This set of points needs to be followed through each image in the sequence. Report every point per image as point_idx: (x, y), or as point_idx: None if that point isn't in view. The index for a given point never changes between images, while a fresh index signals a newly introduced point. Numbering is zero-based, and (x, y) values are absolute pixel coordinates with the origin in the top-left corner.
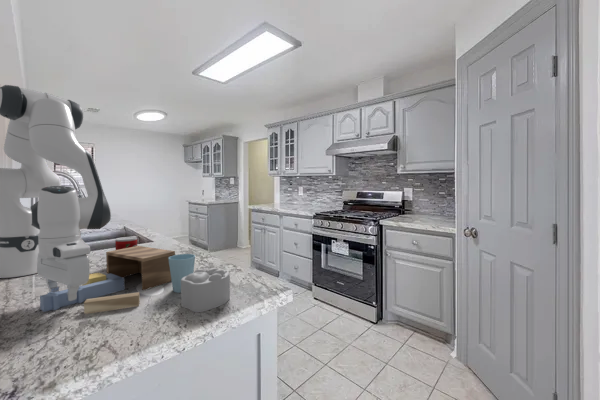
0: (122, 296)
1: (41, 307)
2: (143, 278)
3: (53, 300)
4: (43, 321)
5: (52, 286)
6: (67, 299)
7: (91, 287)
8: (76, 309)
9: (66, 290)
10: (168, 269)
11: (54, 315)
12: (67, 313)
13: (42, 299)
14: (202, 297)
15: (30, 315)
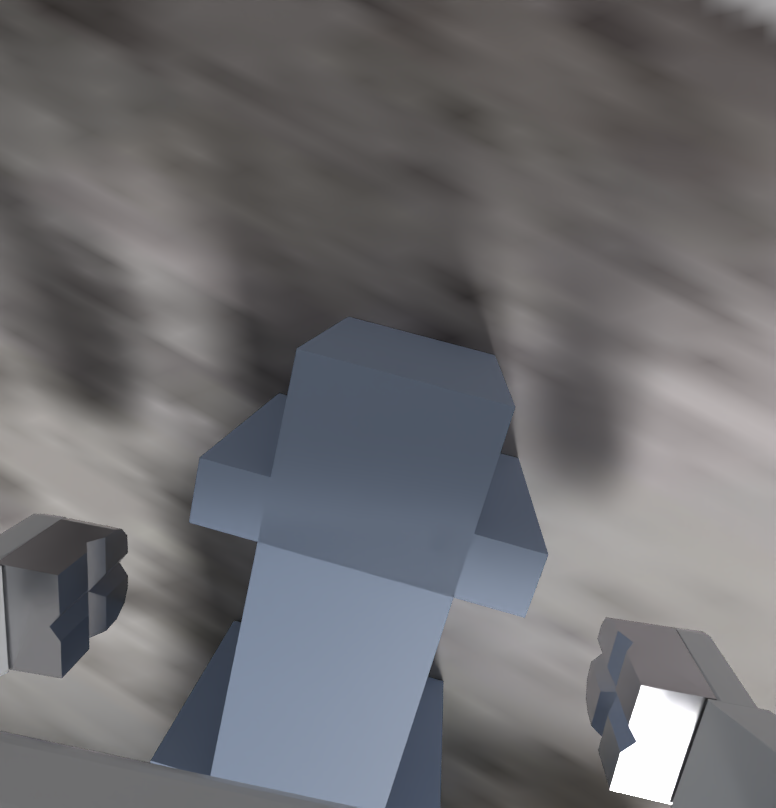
0: None
1: (446, 349)
2: None
3: (243, 437)
4: (9, 126)
5: (714, 762)
6: (72, 522)
7: None
8: (61, 492)
9: (340, 720)
10: None
11: (94, 292)
12: (24, 383)
13: (357, 354)
14: None
15: (384, 174)
